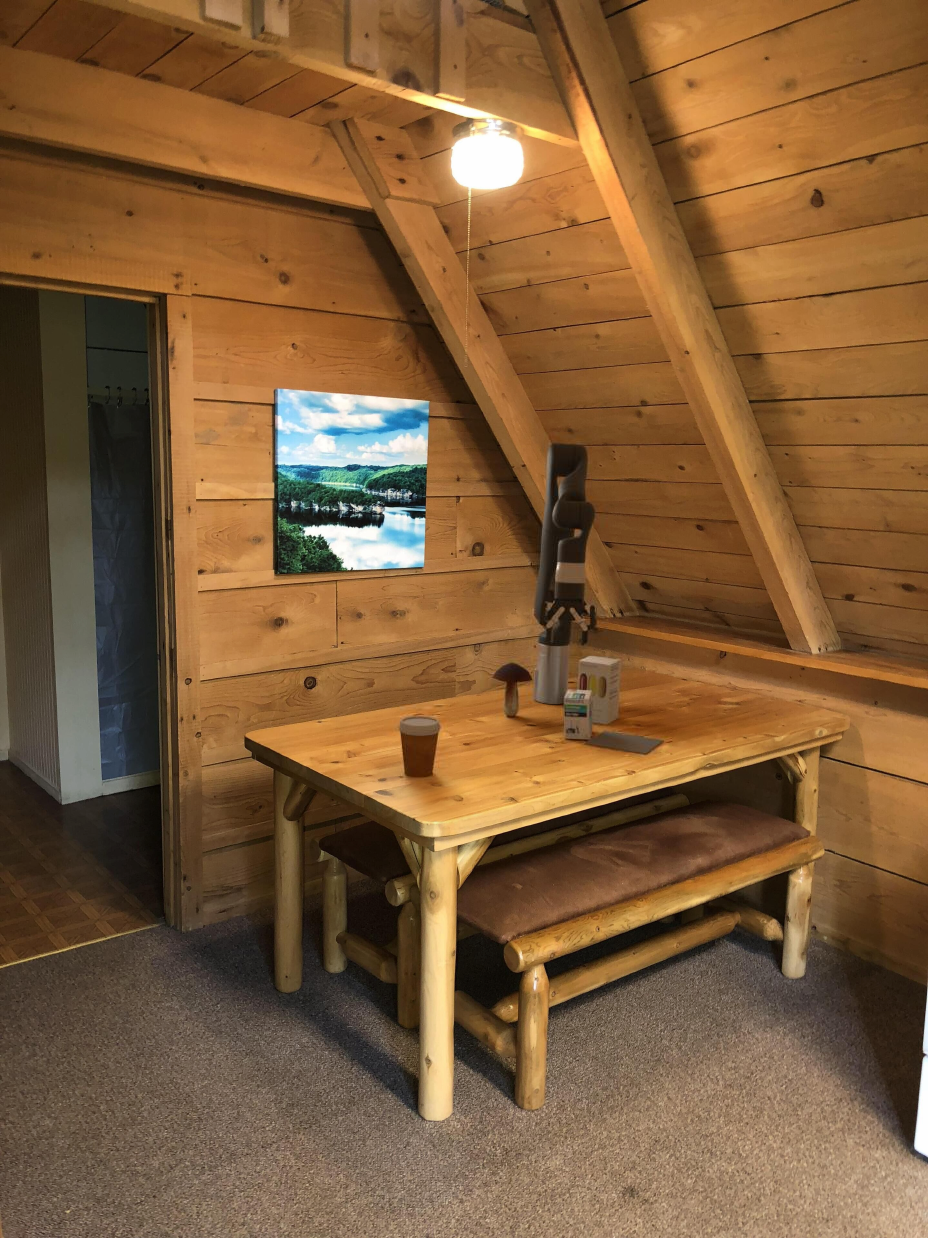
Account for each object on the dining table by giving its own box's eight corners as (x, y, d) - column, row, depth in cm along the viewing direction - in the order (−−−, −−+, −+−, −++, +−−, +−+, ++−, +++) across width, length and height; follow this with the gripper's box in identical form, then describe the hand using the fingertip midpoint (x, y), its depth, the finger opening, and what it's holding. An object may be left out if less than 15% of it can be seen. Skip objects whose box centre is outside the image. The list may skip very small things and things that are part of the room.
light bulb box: (590, 740, 252) (590, 698, 250) (563, 739, 253) (563, 697, 252) (593, 729, 262) (593, 689, 261) (567, 728, 264) (567, 688, 262)
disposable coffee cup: (439, 766, 228) (440, 715, 226) (439, 780, 218) (441, 727, 217) (397, 766, 227) (398, 715, 226) (396, 779, 218) (397, 726, 216)
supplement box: (574, 720, 272) (577, 660, 270) (586, 713, 280) (589, 654, 278) (607, 725, 268) (610, 664, 265) (618, 718, 276) (622, 658, 273)
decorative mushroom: (486, 712, 278) (488, 659, 276) (523, 710, 281) (525, 658, 279) (497, 722, 268) (499, 667, 266) (536, 720, 271) (538, 666, 269)
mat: (584, 744, 250) (584, 742, 249) (604, 731, 262) (604, 730, 262) (645, 754, 242) (645, 753, 242) (663, 741, 254) (663, 740, 254)
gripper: (600, 581, 253) (597, 644, 254) (546, 578, 257) (543, 640, 259) (595, 582, 246) (591, 648, 247) (539, 579, 250) (536, 643, 252)
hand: (566, 644), depth 253 cm, fingers open, 8 cm apart
